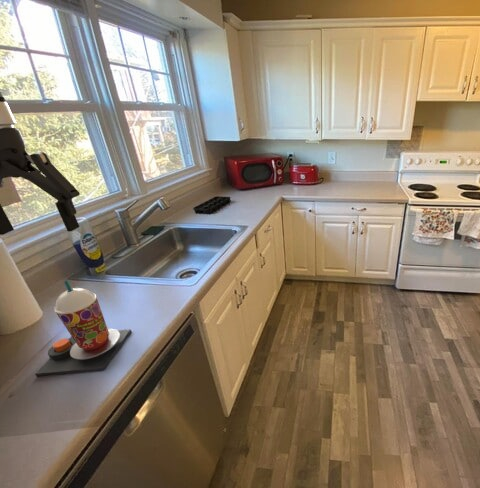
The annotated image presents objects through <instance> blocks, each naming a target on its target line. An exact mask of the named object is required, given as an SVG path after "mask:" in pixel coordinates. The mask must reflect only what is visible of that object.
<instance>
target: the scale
mask: <svg viewBox="0 0 480 488" xmlns="http://www.w3.org/2000/svg"><path fill="white" fill-rule="evenodd" d="M117 330H118V331H119V333H120V338H119V340H118V342H117V343H116V344H115V345H114V346H113V347H112V348H111V349H109V350H108V351H106V352H105V353H103V354H101V355H98V356H96V357H93V358H90V359H85V360H77V359H74V358H72V357H71V355H70V350H71V348H72V347H73V345H74V344H75V343H76V342H75V340H74V339H73V337H72V336H71V335H70V337H69V338H67V339H68V340H69V342H70V344H71V346H70V347H69V348H67V349H66V350H64V351H61V352H56V351H55V349H54V347H53V345H52V346H51V347H50V348H49V349H48V350H47V355H48V358H49V359H48V360H47V361H46V362H45V363H44V364H43V365H42V366H41V367H40V368H39V369H38V370H37V371H36V372H35V373H34V375H35V377H36V378H41V377H42V378H43V377H52V376H62V375H73V374H85V373H96V372H105V371H106V369H107V368H108V367H109V366H110V363H111V362H112V360H113V359H114V358H115V356H116V355H117V354H118V352H119V351H120V350H121V348H122V347H123V346H124V344H125V343H126V341H127V340H128V338H129V337H130V336H131V334H132V329H117Z"/></svg>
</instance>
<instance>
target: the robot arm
mask: <svg viewBox="0 0 480 488" xmlns="http://www.w3.org/2000/svg"><path fill="white" fill-rule="evenodd" d="M15 125H17V121H16V119H15V116H14V115H13V113H12V110H11V109H10V106H9V104H8V101H6V99H5V97H4V95H3V92H2V90H1V89H0V185H1V184H2V181H3V179H6V178H13V179H15V178H22V179H23V180H27V181H29V182H30V183H32V184H33V185H34V186H36V187H38V188H39V189H40V190H42V191H43V192H45V193H46V194H48V195H49V196H50V197H52V198H53V199H55V200H56V202H55V204H54V205H55V207H56V209H57V211H58V214H59V216H60V218H61V220H62V222H63V225H64V227H65V229H66V232H68V233H69V232H73V231H74V230H76V229H78V228H80V225H79V221H78V220H77V217H76V215H77V210H76V207H75V204H74V202H73V199H74V198H76V197H79V196H80V195H81V193H80V191H79V189H77V188H76V187H75V186H74V185H73V184H72V183H71V182H70V181H69V180H68V179H67V178H66V176H64V174H62V173H61V172H60V170H58V168H56V166H55V165H54V164H53V163H52V162H51V160H50V158H49V156H48V154H47V153H45V152H43V151H41V152H36V153H31V154H29V153H28V152H27V150H26V146H27V144H26V142H25V140H24V137H23V135H22V132H21V131H20V129H18V128H17V127H14V126H15ZM13 231H15V229H14V227H13V224H12V222H11V221H10V218H9V217H8V215H7V214H6V211H5V210H4V207H3V206H2V204H1V203H0V236H4V235H6V234H8V233H11V232H13Z"/></svg>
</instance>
